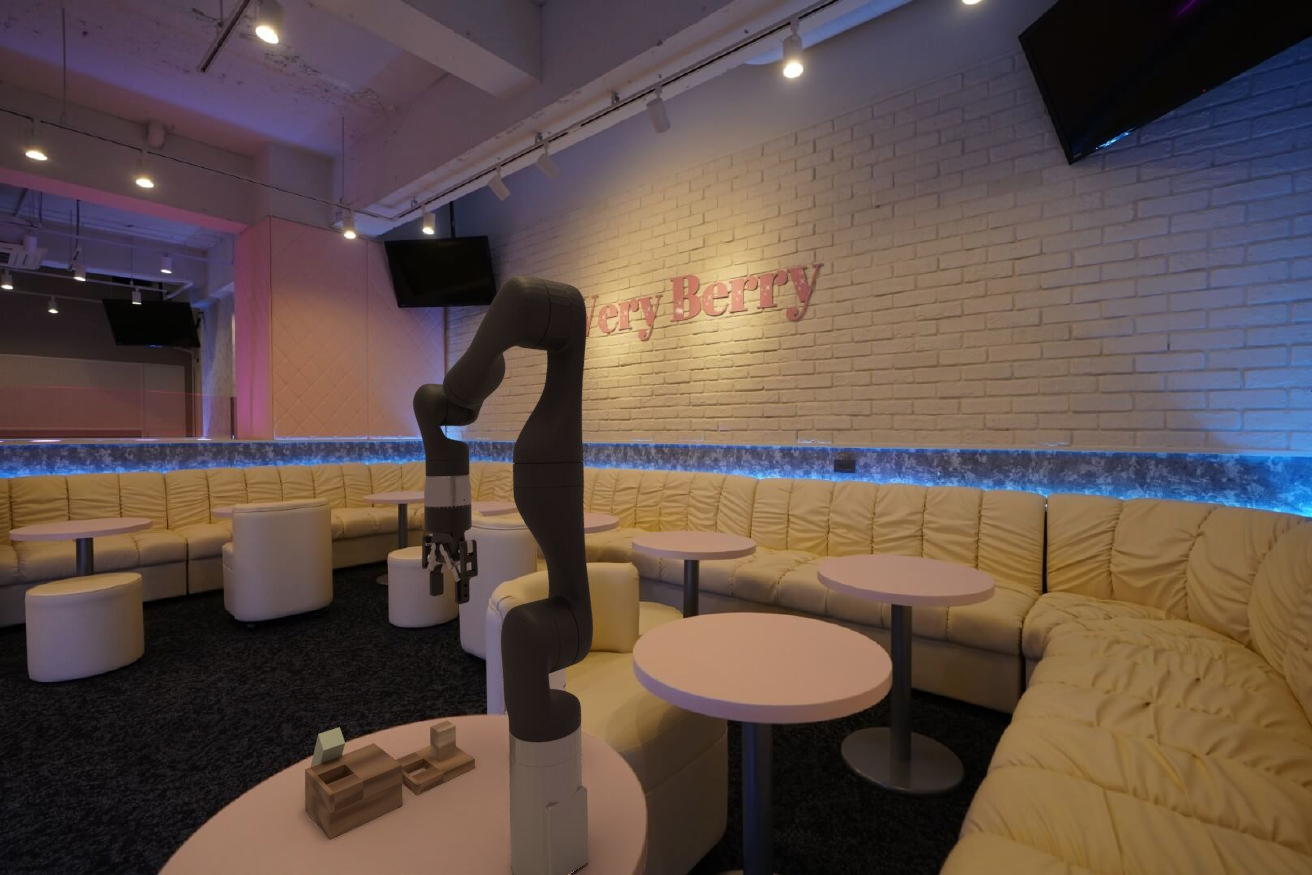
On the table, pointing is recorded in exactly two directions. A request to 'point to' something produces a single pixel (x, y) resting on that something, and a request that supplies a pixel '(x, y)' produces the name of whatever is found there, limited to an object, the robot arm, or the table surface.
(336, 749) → the green square block
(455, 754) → the lid
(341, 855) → the table surface
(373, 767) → the box
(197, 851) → the table surface
